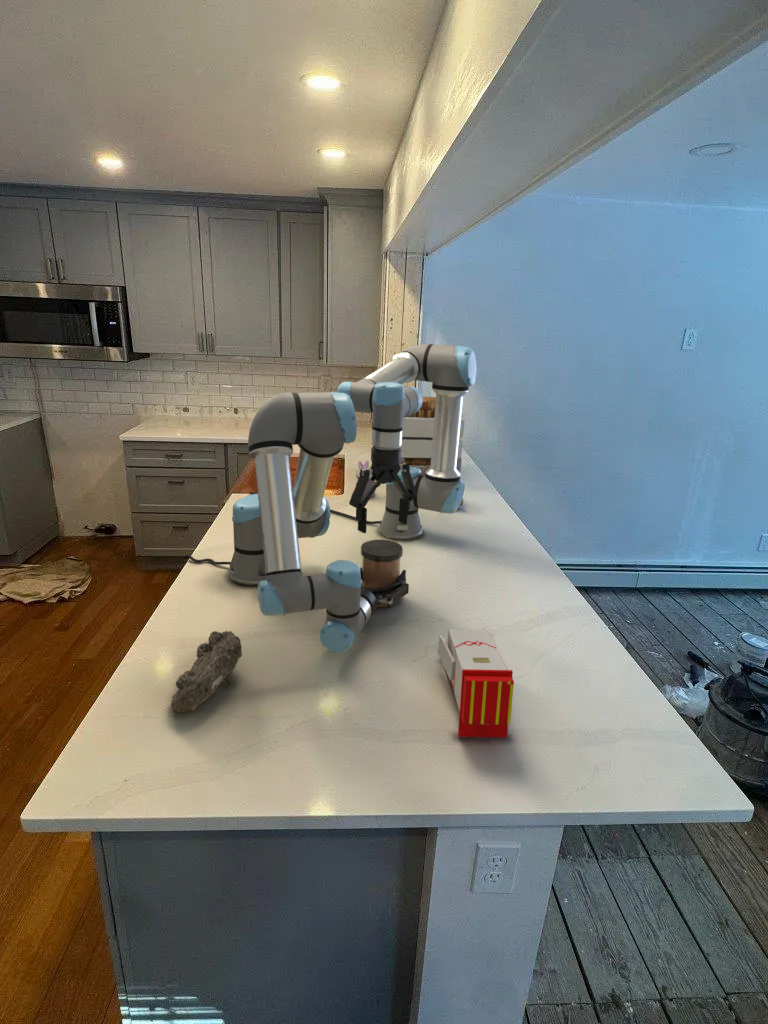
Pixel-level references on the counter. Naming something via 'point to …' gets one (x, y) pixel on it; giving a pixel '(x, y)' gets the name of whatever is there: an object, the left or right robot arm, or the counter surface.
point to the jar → (379, 574)
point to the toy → (478, 682)
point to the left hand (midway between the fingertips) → (385, 571)
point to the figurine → (362, 467)
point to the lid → (381, 550)
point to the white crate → (423, 436)
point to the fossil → (207, 670)
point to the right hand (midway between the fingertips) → (382, 527)
